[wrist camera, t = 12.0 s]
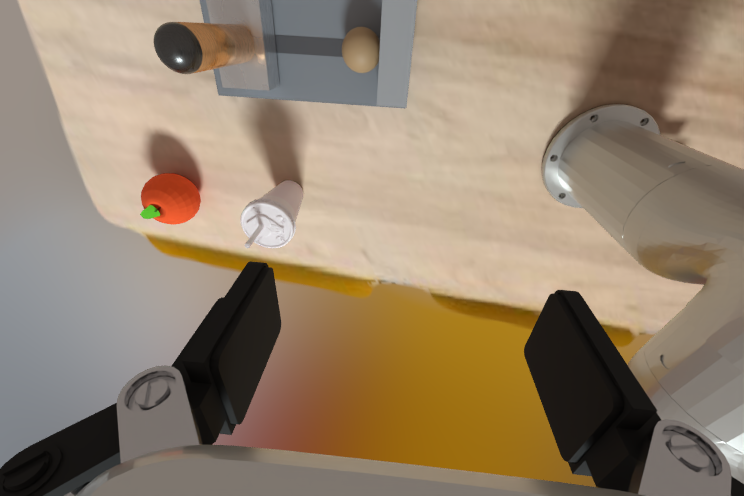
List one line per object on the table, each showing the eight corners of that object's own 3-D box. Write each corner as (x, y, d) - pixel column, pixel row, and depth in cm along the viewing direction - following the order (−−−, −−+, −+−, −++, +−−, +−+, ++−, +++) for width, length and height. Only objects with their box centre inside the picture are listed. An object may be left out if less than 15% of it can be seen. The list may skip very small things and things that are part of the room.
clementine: (180, 218, 50) (150, 243, 44) (146, 180, 47) (109, 201, 41) (219, 200, 48) (193, 223, 42) (186, 157, 45) (153, 177, 39)
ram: (270, -4, 32) (186, -25, 20) (279, 85, 37) (215, 114, 24) (221, -6, 32) (107, -29, 20) (236, 83, 37) (151, 109, 24)
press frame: (417, -13, 32) (419, -22, 27) (405, 105, 38) (405, 118, 33) (202, -25, 33) (163, -35, 28) (224, 93, 39) (195, 103, 34)
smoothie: (268, 166, 44) (220, 214, 33) (314, 176, 44) (282, 227, 33) (268, 207, 48) (224, 264, 36) (311, 216, 48) (281, 275, 36)
